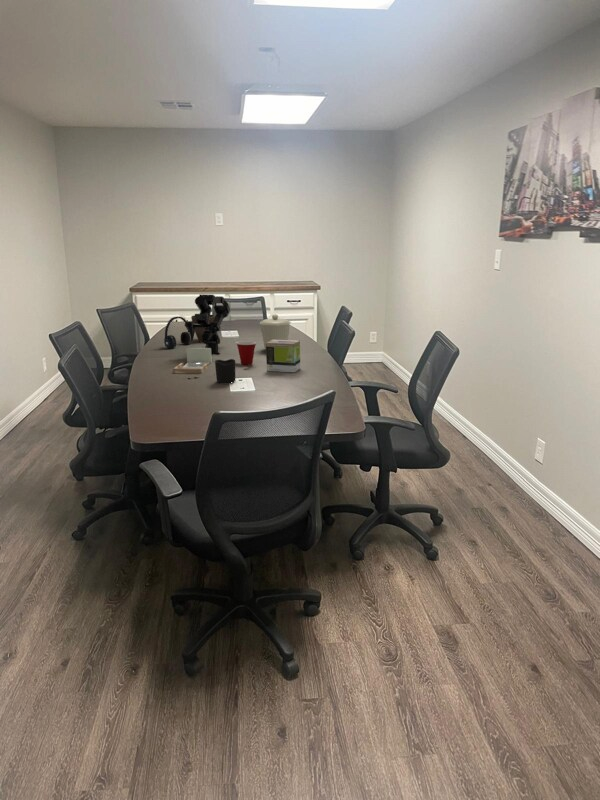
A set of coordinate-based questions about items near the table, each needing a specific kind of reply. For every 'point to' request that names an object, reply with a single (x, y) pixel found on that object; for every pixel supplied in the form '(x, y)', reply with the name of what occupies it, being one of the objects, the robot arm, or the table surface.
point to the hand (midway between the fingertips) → (199, 339)
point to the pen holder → (225, 371)
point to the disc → (195, 364)
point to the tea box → (283, 355)
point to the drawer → (198, 356)
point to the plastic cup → (246, 352)
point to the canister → (275, 329)
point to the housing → (179, 370)
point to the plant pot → (200, 330)
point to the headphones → (171, 340)
